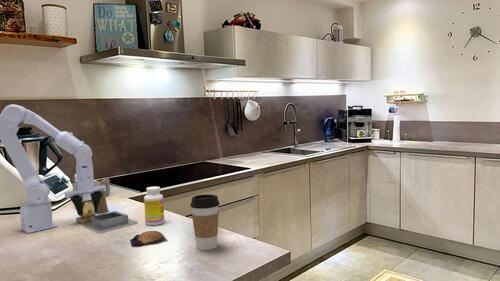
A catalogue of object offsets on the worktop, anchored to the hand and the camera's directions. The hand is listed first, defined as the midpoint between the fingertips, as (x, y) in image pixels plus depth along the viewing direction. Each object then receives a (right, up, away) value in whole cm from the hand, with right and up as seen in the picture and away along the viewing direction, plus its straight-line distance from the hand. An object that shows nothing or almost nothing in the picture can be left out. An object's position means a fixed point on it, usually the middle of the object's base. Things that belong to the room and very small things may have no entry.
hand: (87, 213), depth 137 cm
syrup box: (-11, -2, +22) cm, 25 cm away
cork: (0, -2, +13) cm, 13 cm away
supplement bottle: (+27, -3, -5) cm, 27 cm away
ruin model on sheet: (-11, -1, +46) cm, 47 cm away
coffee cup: (+48, -4, -30) cm, 57 cm away
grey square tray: (+10, -3, -5) cm, 12 cm away
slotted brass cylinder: (0, -1, 0) cm, 1 cm away
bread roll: (+29, -5, -24) cm, 38 cm away
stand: (0, -3, 0) cm, 3 cm away
